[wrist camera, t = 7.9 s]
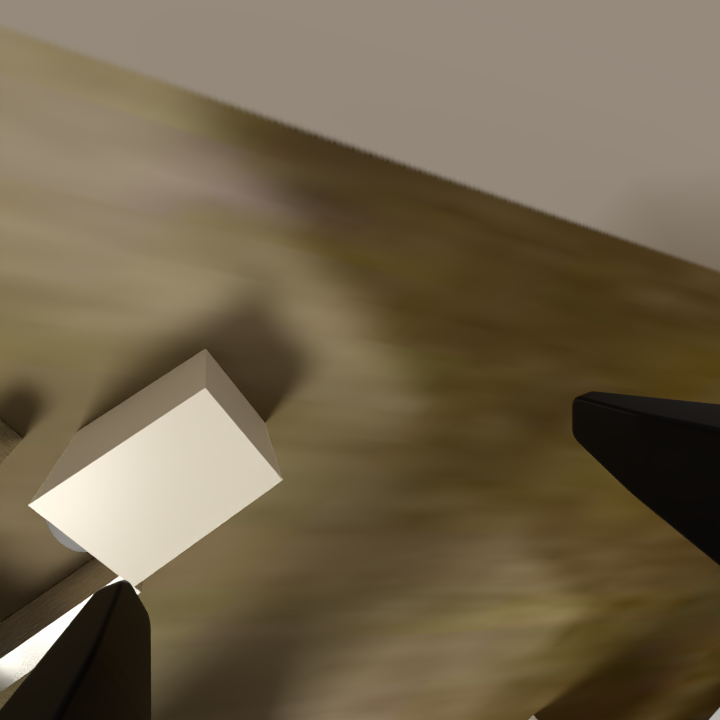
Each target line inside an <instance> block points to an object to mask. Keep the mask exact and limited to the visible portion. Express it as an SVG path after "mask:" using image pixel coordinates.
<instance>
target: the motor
mask: <svg viewBox="0 0 720 720" xmlns="http://www.w3.org/2000/svg"><path fill="white" fill-rule="evenodd" d="M22 440H23V439H22V438H21V437H20V436H19V435H18V434H17V433H15V432H14V431H13V430H12V429H11V428H10V427H9V426H7V425H6V424H5V423H4V422H3V421H2V420H1V419H0V464H1V463H2V462H3V461H4V459H5V458H6V457H7V456H8V455H9V454H10V453H11V452H12V451H13V449H14V448H15V447H16V446H17V445H18V444H19V443H20V442H21V441H22ZM120 580H124V579H122V578H121V577H120V576H118V575H117V574H116V573H115V572H113V571H112V570H111V569H109V568H108V567H107V566H106V565H104V564H103V563H102V562H100V561H99V560H98V559H97V558H94V559H93V560H92V561H90V562H89V563H87V564H86V565H84V566H83V567H81V568H80V569H78V570H77V571H75V572H74V573H73V574H71V575H70V576H68V577H67V578H65V579H64V580H62V581H61V582H59V583H58V584H56V585H55V586H54V587H52V588H51V589H49V590H48V591H46V592H45V593H43V594H42V595H40V596H39V597H37V598H36V599H35V600H33V601H32V602H30V603H29V604H27V605H26V606H24V607H23V608H21V609H20V610H18V611H17V612H16V613H14V614H13V615H11V616H10V617H8V618H7V619H5V620H4V621H2V622H1V623H0V709H1V708H2V707H3V706H4V704H5V703H6V702H7V701H8V699H9V698H10V697H11V696H12V694H13V693H14V692H15V691H16V689H17V688H18V687H19V686H20V685H21V683H22V682H23V681H24V680H25V678H26V677H27V676H28V675H29V673H30V672H31V671H32V670H33V668H34V667H35V666H36V665H37V663H38V662H39V661H40V660H41V659H42V657H43V656H44V655H45V654H46V652H47V651H48V650H49V649H50V647H51V646H52V645H53V644H54V642H55V641H56V640H57V639H58V638H59V636H60V635H61V634H62V633H63V631H64V630H65V629H66V628H67V626H68V625H69V624H70V623H71V621H72V620H73V619H74V618H75V617H76V615H77V614H78V613H79V612H80V610H81V609H82V608H83V607H84V605H85V604H86V603H87V602H88V600H89V599H90V598H91V597H92V596H93V594H94V593H95V592H96V591H97V590H99V589H100V588H102V587H105V586H107V585H110V584H112V583H115V582H117V581H120ZM142 585H143V581H142V582H140V583H139V584H137V585H136V586H135V587H133V588H134V590H135V592H136V593H137V595H138V594H140V593H141V590H142Z"/></svg>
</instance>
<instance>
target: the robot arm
mask: <svg viewBox="0 0 720 720" xmlns="http://www.w3.org/2000/svg"><path fill="white" fill-rule="evenodd" d="M572 431H573V435H574V437H575V438H576V440H577V441H578V442H579V443H580V444H581V445H582V446H583V447H584V448H585V449H586V450H587V451H588V452H589V453H590V454H591V455H592V456H593V457H594V458H595V459H596V460H597V461H598V462H599V463H600V464H601V465H602V466H604V467H605V468H606V469H607V470H608V471H609V472H610V473H611V474H612V475H613V476H614V477H615V478H616V479H617V480H618V481H619V482H620V483H621V484H622V485H623V486H624V487H625V488H626V489H627V490H629V491H630V492H631V493H632V494H633V495H634V496H635V497H636V498H638V499H639V500H640V501H641V502H642V503H643V504H645V505H646V506H647V507H648V508H650V509H651V510H652V511H653V512H655V513H656V514H657V515H658V516H659V517H661V518H662V519H663V520H664V521H666V522H667V523H668V524H669V525H670V526H672V527H673V528H674V529H675V530H677V531H678V532H679V533H680V534H681V535H683V536H684V537H685V538H686V539H688V540H689V541H690V542H691V543H693V544H694V545H695V546H696V547H697V548H699V549H700V550H701V551H702V552H704V553H705V554H706V555H707V556H708V557H710V558H711V559H712V560H713V561H715V562H716V563H717V564H718V565H720V404H710V403H701V402H691V401H681V400H671V399H662V398H652V397H642V396H632V395H622V394H613V393H603V392H588V393H586V394H583V395H581V396H578V397H576V398H575V399H574V401H573V404H572ZM0 720H151V627H150V619H149V616H148V613H147V611H146V609H145V607H144V606H143V604H142V602H141V600H140V599H139V597H138V595H137V593H136V592H135V590H134V588H133V586H132V585H131V583H130V582H128V581H127V580H120V581H117V582H115V583H112V584H110V585H107V586H105V587H102V588H100V589H99V590H97V591H96V592H95V593H94V594H93V596H92V597H91V598H90V599H89V600H88V602H87V603H86V604H85V605H84V607H83V608H82V609H81V610H80V612H79V613H78V614H77V615H76V617H75V618H74V619H73V620H72V621H71V623H70V624H69V625H68V626H67V628H66V629H65V630H64V631H63V633H62V634H61V635H60V636H59V638H58V639H57V640H56V641H55V642H54V644H53V645H52V646H51V647H50V649H49V650H48V651H47V652H46V654H45V655H44V656H43V657H42V659H41V660H40V661H39V662H38V663H37V665H36V666H35V667H34V668H33V670H32V671H31V672H30V673H29V675H28V676H27V677H26V678H25V680H24V681H23V682H22V683H21V685H20V686H19V687H18V688H17V689H16V691H15V692H14V693H13V694H12V696H11V697H10V698H9V699H8V701H7V702H6V703H5V704H4V706H3V707H2V708H1V709H0Z"/></svg>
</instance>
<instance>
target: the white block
mask: <svg viewBox="0 0 720 720" xmlns="http://www.w3.org/2000/svg"><path fill="white" fill-rule="evenodd" d="M282 480H283V479H282V476H281V473H280V470H279V466H278V463H277V460H276V457H275V453H274V450H273V447H272V444H271V441H270V437H269V434H268V431H267V428H266V424H265V422H264V421H263V420H262V418H261V417H260V416H259V415H258V413H257V412H256V411H255V410H254V408H253V407H252V406H251V405H250V403H249V402H248V401H247V400H246V398H245V397H244V396H243V395H242V393H241V392H240V391H239V390H238V388H237V387H236V386H235V385H234V383H233V382H232V381H231V380H230V378H229V377H228V376H227V374H226V373H225V372H224V371H223V369H222V368H221V367H220V366H219V364H218V363H217V362H216V361H215V359H214V358H213V357H212V356H211V354H210V353H209V352H208V351H207V349H206V348H205V349H204V350H202V351H201V352H199V353H198V354H196V355H195V356H193V357H191V358H190V359H188V360H187V361H185V362H184V363H182V364H181V365H179V366H178V367H176V368H175V369H173V370H171V371H170V372H168V373H167V374H165V375H164V376H162V377H161V378H159V379H158V380H156V381H154V382H153V383H151V384H150V385H148V386H147V387H145V388H144V389H142V390H141V391H139V392H137V393H136V394H134V395H133V396H131V397H130V398H128V399H127V400H125V401H124V402H122V403H121V404H119V405H117V406H116V407H114V408H113V409H111V410H110V411H108V412H107V413H105V414H104V415H102V416H100V417H99V418H97V419H96V420H94V421H93V422H91V423H90V424H88V425H87V426H85V427H83V428H82V429H80V430H79V431H77V432H76V433H75V435H74V436H73V438H72V439H71V441H70V442H69V444H68V446H67V447H66V449H65V450H64V452H63V453H62V455H61V456H60V458H59V459H58V461H57V462H56V464H55V465H54V467H53V468H52V470H51V471H50V473H49V474H48V476H47V477H46V479H45V480H44V482H43V483H42V485H41V486H40V488H39V489H38V491H37V492H36V494H35V495H34V497H33V498H32V500H31V501H30V503H29V505H28V506H30V507H31V508H32V509H34V510H35V511H36V512H37V513H39V514H40V515H41V516H43V517H44V518H45V519H46V522H47V524H48V527H49V529H50V531H51V532H52V534H53V535H54V536H55V538H56V539H57V540H58V541H59V542H60V543H61V544H63V545H64V546H66V547H67V548H69V549H71V550H73V551H77V552H87V551H88V552H89V553H90V554H91V555H93V556H94V557H95V558H97V559H98V560H99V561H100V562H102V563H103V564H104V565H106V566H107V567H108V568H109V569H111V570H112V571H113V572H115V573H116V574H117V575H118V576H120V577H121V578H122V579H124V580H127V581H128V582H130V583H131V585H132V586H133V587H135V586H136V585H137V584H139V583H140V582H142V581H143V580H144V579H146V578H147V577H148V576H150V575H151V574H153V573H154V572H155V571H157V570H158V569H160V568H161V567H162V566H164V565H165V564H167V563H168V562H169V561H171V560H172V559H174V558H175V557H176V556H178V555H179V554H180V553H182V552H183V551H185V550H186V549H187V548H189V547H190V546H192V545H193V544H194V543H196V542H197V541H199V540H200V539H201V538H203V537H204V536H206V535H207V534H208V533H210V532H211V531H212V530H214V529H215V528H217V527H218V526H219V525H221V524H222V523H224V522H225V521H226V520H228V519H229V518H231V517H232V516H233V515H235V514H236V513H238V512H239V511H240V510H242V509H243V508H245V507H246V506H247V505H249V504H250V503H251V502H253V501H254V500H256V499H257V498H258V497H260V496H261V495H263V494H264V493H265V492H267V491H268V490H270V489H271V488H272V487H274V486H275V485H277V484H278V483H279V482H281V481H282Z"/></svg>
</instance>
